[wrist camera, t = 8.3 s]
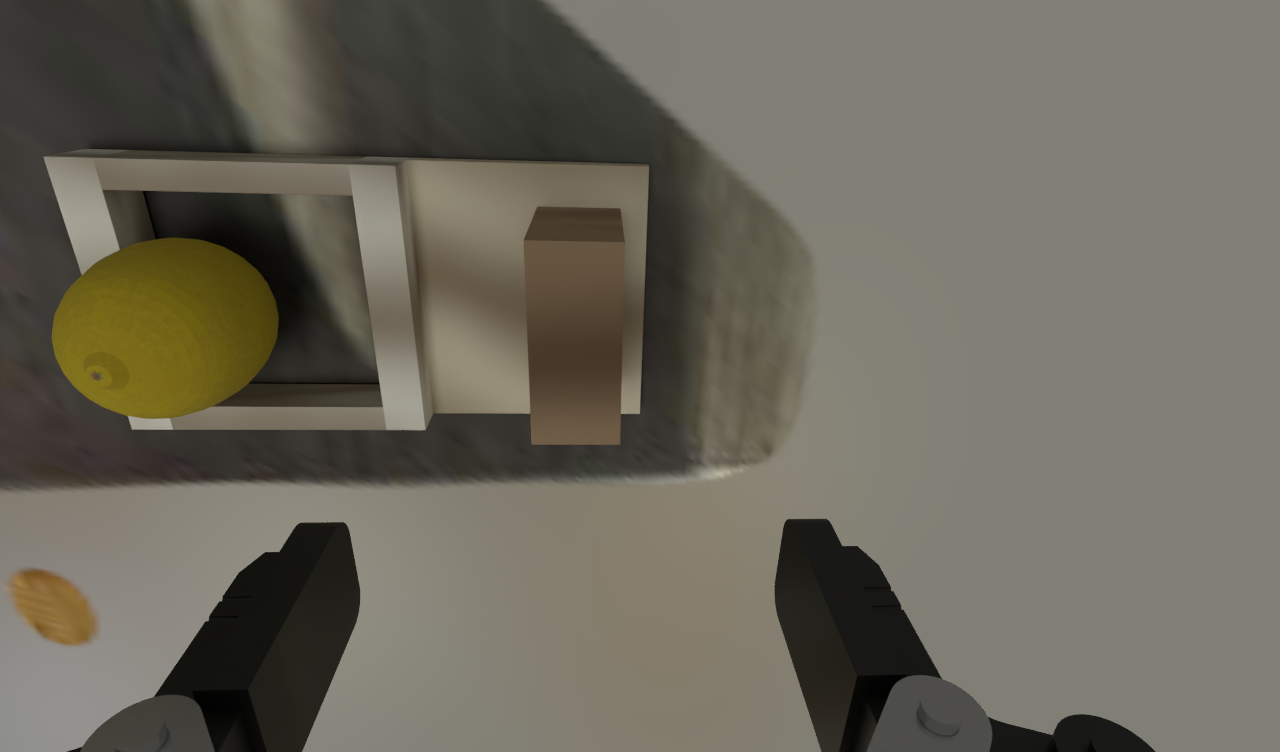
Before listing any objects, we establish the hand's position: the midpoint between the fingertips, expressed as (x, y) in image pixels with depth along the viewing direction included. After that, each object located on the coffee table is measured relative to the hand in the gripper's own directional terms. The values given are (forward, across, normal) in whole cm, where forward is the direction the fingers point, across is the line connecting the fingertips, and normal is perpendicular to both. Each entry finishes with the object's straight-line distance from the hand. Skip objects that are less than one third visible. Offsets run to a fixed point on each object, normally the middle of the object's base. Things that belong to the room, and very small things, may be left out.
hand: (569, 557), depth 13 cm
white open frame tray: (+16, +7, 0) cm, 17 cm away
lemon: (+16, +13, 0) cm, 21 cm away
